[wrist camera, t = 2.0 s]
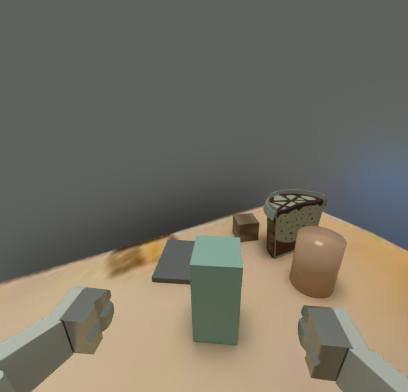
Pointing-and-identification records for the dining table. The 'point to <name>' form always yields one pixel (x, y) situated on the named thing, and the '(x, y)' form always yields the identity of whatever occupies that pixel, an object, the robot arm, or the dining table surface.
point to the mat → (174, 262)
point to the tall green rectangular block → (216, 289)
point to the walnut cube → (245, 227)
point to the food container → (290, 217)
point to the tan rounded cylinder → (316, 261)
